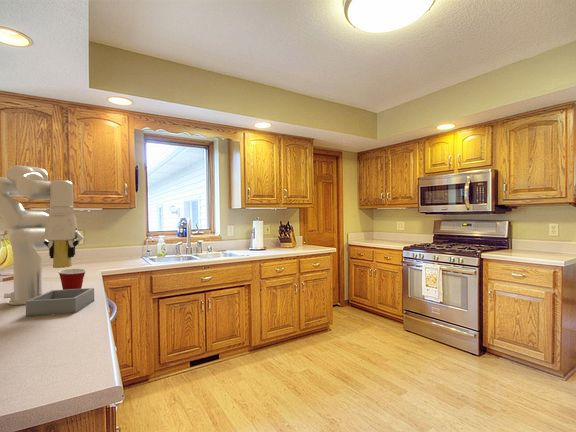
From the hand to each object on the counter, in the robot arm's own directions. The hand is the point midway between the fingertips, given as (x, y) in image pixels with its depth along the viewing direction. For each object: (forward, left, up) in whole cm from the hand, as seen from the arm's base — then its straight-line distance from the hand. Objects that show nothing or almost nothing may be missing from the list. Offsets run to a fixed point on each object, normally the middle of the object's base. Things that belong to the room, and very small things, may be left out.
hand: (62, 257), depth 124 cm
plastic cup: (-5, +21, -20) cm, 30 cm away
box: (0, 0, -20) cm, 20 cm away
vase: (0, 0, -4) cm, 4 cm away
